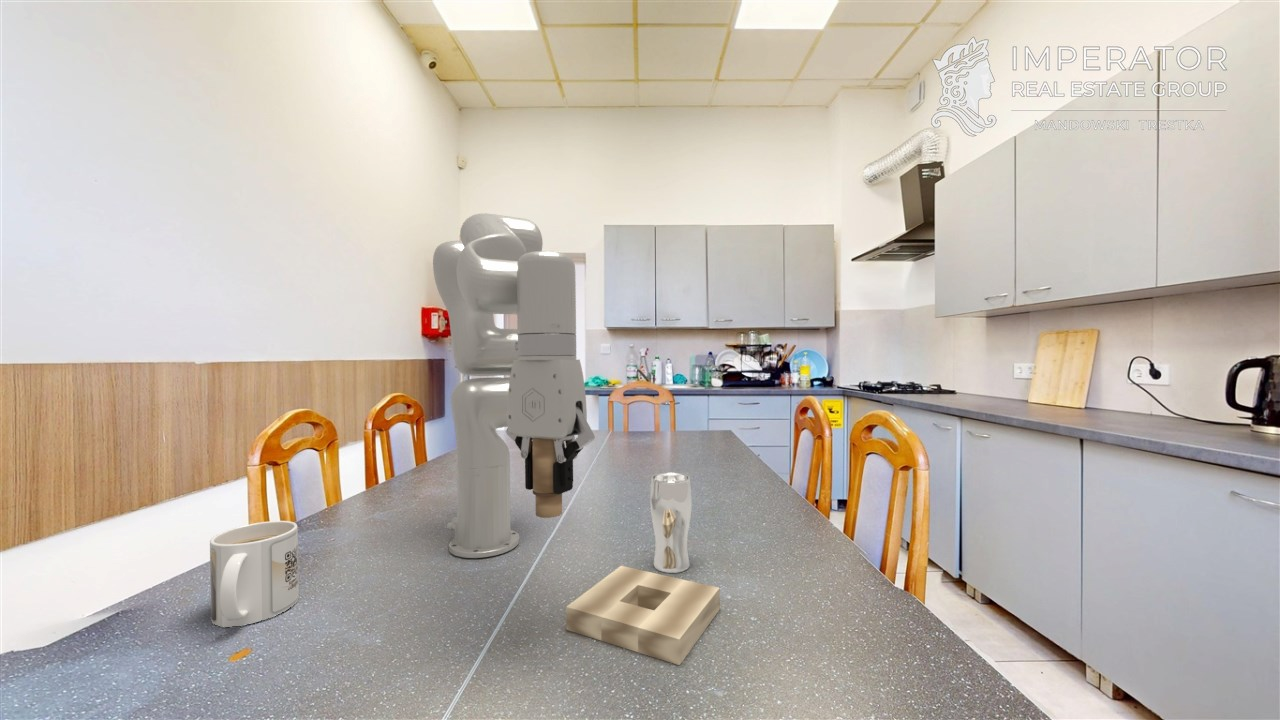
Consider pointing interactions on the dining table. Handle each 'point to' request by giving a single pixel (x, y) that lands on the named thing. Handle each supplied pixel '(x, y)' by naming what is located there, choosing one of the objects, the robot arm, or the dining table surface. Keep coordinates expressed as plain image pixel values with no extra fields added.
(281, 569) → the mug
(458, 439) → the robot arm
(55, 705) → the dining table surface
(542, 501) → the peg
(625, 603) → the board
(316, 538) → the dining table surface
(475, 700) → the dining table surface
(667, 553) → the beer glass
